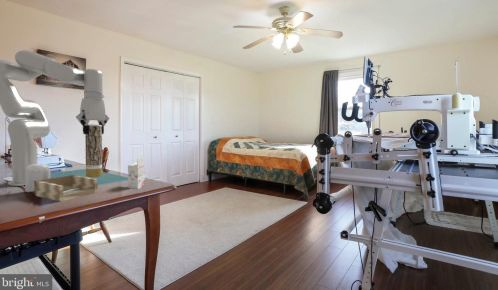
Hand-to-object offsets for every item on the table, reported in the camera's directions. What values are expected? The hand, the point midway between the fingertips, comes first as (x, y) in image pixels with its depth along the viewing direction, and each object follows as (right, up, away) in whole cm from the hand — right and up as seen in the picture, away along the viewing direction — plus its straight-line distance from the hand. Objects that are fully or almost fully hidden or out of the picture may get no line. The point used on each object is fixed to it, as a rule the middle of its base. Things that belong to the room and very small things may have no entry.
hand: (93, 133), depth 124 cm
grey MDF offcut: (+3, -26, -17) cm, 31 cm away
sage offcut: (-1, -26, -16) cm, 31 cm away
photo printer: (-18, -26, -10) cm, 34 cm away
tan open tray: (-2, -27, -15) cm, 31 cm away
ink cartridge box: (+18, -27, +5) cm, 33 cm away
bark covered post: (-1, -21, +2) cm, 21 cm away
